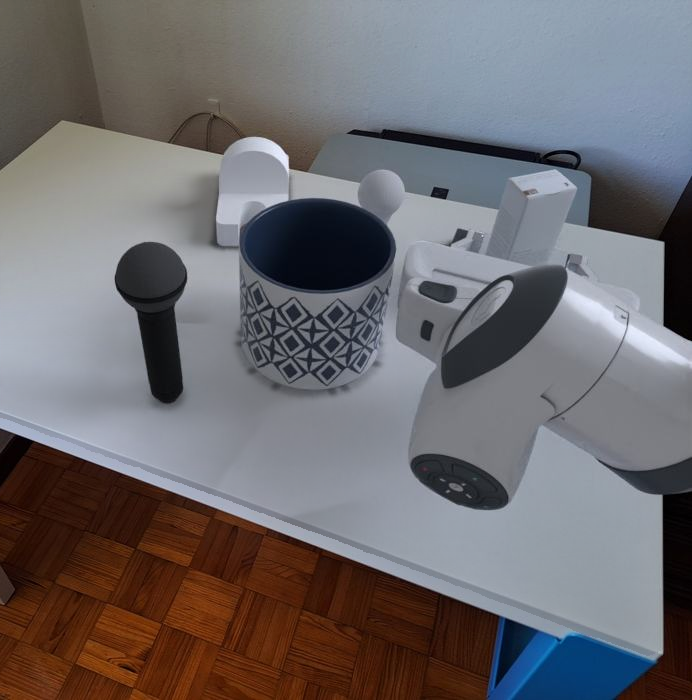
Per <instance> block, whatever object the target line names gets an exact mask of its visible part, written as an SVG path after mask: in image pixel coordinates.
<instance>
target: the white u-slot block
mask: <svg viewBox="0 0 692 700" xmlns="http://www.w3.org/2000/svg"><path fill="white" fill-rule="evenodd" d="M289 159H290V157H289V155H288V154H286V152H285V151H284V150H283V148H282V147H281V146H280V145H279V144H278V143H276V142H275V141H272V140H271V139H268V138H266V137H259V136H249V137H244V138H241V139H238V140H236V141H234V142H233V143H232V144H230V145H229V146H228V147H227V149H226V150H225V151H224V153H223V155H222V156H221V160H220V166H219V167H220V168H219V176H218V200H217V208H216V214H215V215H216V216H215V225H216V243H217V244H218V245H219V246H222V247H239V241H240V236H241V234H240V233H241V228H242V227H244V226H246V224H247V223H248V222H249V221H250V220H251V219H252V218H253V217H254V216H255V215H256V214H258V213H259V212H261V211H262V210H264V209H266V208H268V207H270V206H273V205H275V204H278V203H281V202H285V201H289V200H290V197H289V194H290V165H289V164H290V163H289V162H290V161H289Z"/></svg>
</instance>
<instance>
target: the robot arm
mask: <svg viewBox="0 0 692 700" xmlns="http://www.w3.org/2000/svg"><path fill="white" fill-rule="evenodd" d="M468 231H469V230H468ZM477 231H478V230H477ZM477 231H472V230H470V231H469V233H468V236H467V238H464V239H462V240H460V241H458V242H455V243H453V244H451V243H450V245H451V247H450V246H448V245H444V244H441V243H435V242H431V241H427V240H418V241H414V242H413V243H411V244H409V246H408V248H407V251H406V254H405V257H404V262H403V267H402V272H401V276H400V281H399V288H398V294H397V300H396V304H397V305H396V306H397V314H396V322H395V339H396V340H397V341H398V342H400V344H402V345H403V346H406V347H407V348H409V349H410V350H412V351H415V352H416V353H417V354H420V355H422V356H423V357H424V358H426V359H428V361H430V362H432V363H433V364H435V366H436V367H435V369H434V370H432V372H431V373H430V375H429V376H428V378H427V379H426V381H425V383H424V386H423V389H422V392H421V394H420V397H419V401H418V404H417V408H416V411H415V413H414V418H413V421H412V427H411V431H410V436H409V443H408V451H407V452H408V456H407V457H408V458H407V459H408V465H409V469H410V471H411V473H412V474H413V476H414V477H415V478H416V479H417V480H418V481H419V483H420V484H421V485H423V486H424V487H426V488H427V489H429V490H430V491H432V492H433V493H435V494H436V495H438V496H439V497H442V498H443V499H445V500H447V501H449V502H451V503H452V504H455V505H457V506H459V507H464V508H467V509H472V510H476V511H477V510H478V511H497V510H501V509H504V508H506V507H508V505H510V503H511V502H512V501H513V499H514V498H515V495H516V494H517V492H518V489H519V487H520V485H521V483H522V481H523V478H524V476H525V474H526V470H527V468H528V465H529V463H530V460H531V456H532V453H533V450H534V448H535V447H534V446H535V443H536V439H537V436H538V433H539V428H540V427H541V426H543V427H545V428H546V429H547V430H549V431H551V432H553V433H554V434H556V435H558V436H559V437H561V438H562V439H564V440H566V441H567V442H569V443H571V444H572V445H574V446H576V447H577V448H579V449H581V450H582V451H584V452H585V453H588V455H590V456H592V457H593V458H594V459H596V460H597V461H598V462H599V463H600V464H601V465H603V466H604V467H606V468H607V469H608V470H609V471H611V472H613V473H614V474H615V475H617V476H618V477H619V478H620V479H622V480H623V481H625V482H626V483H627V484H629V485H630V486H632V487H633V488H634V489H636V490H637V491H639V492H642V493H645V494H649V495H656V496H664V495H676V494H683V493H689V492H692V341H691V340H688V339H686V338H684V337H683V336H681V335H679V334H677V333H675V332H674V331H672V330H671V329H669V328H667V327H665V326H664V325H662V324H661V323H659V322H657V321H655V320H654V319H652V318H650V317H649V316H647V315H645V314H644V313H642V312H640V308H641V304H642V303H641V299H640V297H639V296H638V295H637V294H636V293H635V292H634V291H632V290H631V289H629V288H625V287H621V286H617V285H612V284H607V283H604V282H600V281H598V280H599V279H598V277H597V276H596V275H595V274H594V272H593V271H592V269H591V268H590V267H589V266H588V262H587V260H588V261H589V256H586V255H582V254H581V255H580V254H577V253H570V254H571V255H570V258H569V260H568V262H567V265H566V268H565V267H563V266H562V265H558V264H550V265H541V266H535V267H532V266H528V265H524V264H520V263H516V262H511V261H507V260H503V259H499V258H495V257H490V256H486V255H482V254H479V250H480V248H481V245H482V242H483V238H484V234H485V233H486V232H485V233H481V232H482V231H481V232H477ZM586 265H587V266H586Z"/></svg>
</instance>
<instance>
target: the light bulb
mask: <svg viewBox="0 0 692 700" xmlns="http://www.w3.org/2000/svg"><path fill="white" fill-rule="evenodd" d="M405 195H406V190H405V185H404V182H403V180H402V178H401V177H400V176H399V175H398V174H397V173H395V172H393V171H391V170H388V169H376V170H373V171H371V172H369V173H368V174H366V175H365V176H364V177H363V179H362V180H361V182H360V183H359V185H358V188H357V201H358V204H359V205H360V206H359V207H361V208H364V209H366V210H368V211H369V212H371V213H373V214H375V215H376V216H377V217H378V218H380V219H381V220H382V221H383V222H384V223H385V224H386V225H387V226H388V223H389V222H390V220H391V218H392V216H393V215H394V214H395V213H396V212H397V211H398V210H399V209H400V207H402V204H403V203H404V199H405Z"/></svg>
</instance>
